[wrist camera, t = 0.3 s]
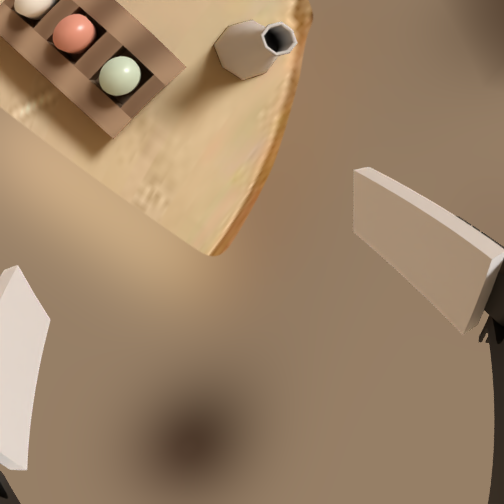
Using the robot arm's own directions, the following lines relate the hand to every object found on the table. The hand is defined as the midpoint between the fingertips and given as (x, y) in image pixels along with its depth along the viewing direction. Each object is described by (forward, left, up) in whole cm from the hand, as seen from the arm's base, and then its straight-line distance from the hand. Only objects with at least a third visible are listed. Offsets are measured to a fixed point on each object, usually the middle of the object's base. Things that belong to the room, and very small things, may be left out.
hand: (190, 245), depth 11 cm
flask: (-6, +12, -27) cm, 30 cm away
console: (-15, -4, -26) cm, 30 cm away
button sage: (-8, -1, -24) cm, 25 cm away
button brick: (-15, -4, -24) cm, 28 cm away
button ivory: (-21, -6, -24) cm, 33 cm away
